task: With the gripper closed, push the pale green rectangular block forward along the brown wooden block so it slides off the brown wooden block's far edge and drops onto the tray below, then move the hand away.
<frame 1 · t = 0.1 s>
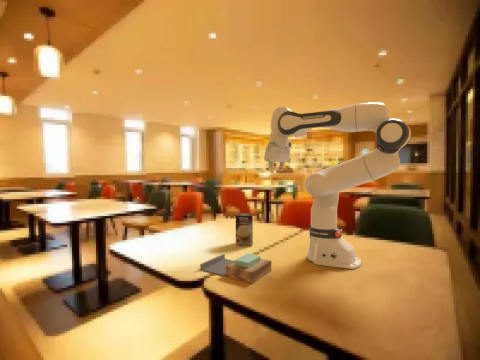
hand: (276, 171, 133), 39 cm above the table, tool pointing down, fingers open, 8 cm apart
coffee box: (244, 244, 146), on the table
tray: (223, 267, 114), on the table
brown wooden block: (249, 273, 107), on the table
pale green rectangular block: (248, 263, 107), point 4 cm above the table, touching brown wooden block
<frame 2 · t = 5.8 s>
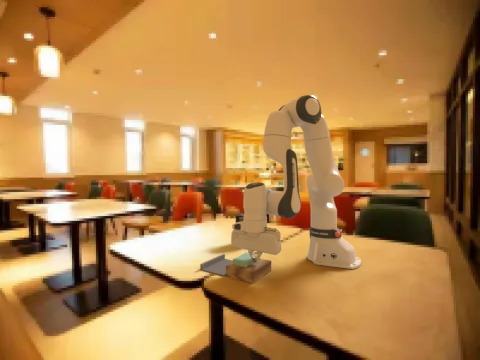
hand: (255, 261, 105), 5 cm above the table, tool pointing down, fingers closed
pale green rectangular block: (245, 262, 107), point 4 cm above the table
everything else where it was.
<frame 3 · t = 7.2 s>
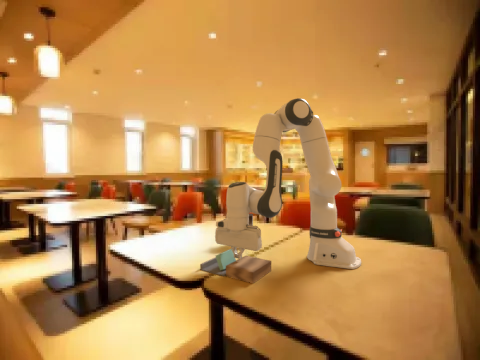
hand: (237, 257, 109), 5 cm above the table, tool pointing down, fingers closed
pale green rectangular block: (228, 258, 112), point 4 cm above the table, tilted 112°, touching tray
everything else where it was.
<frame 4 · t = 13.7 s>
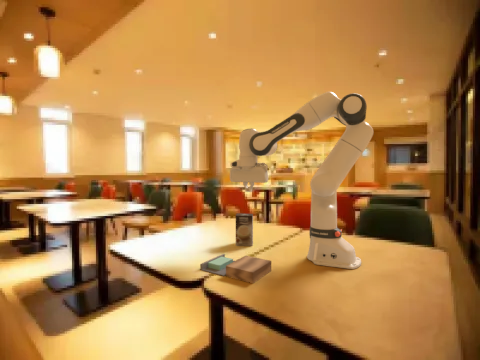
hand: (248, 191, 133), 29 cm above the table, tool pointing down, fingers closed
pale green rectangular block: (220, 260, 114), point 2 cm above the table, tilted 180°, touching tray
everything else where it was.
at the end: pale green rectangular block point 2.4 cm above the table; pale green rectangular block inside the target area on the tray (1.4 cm from its centre), point 2.4 cm above the tray's base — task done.
